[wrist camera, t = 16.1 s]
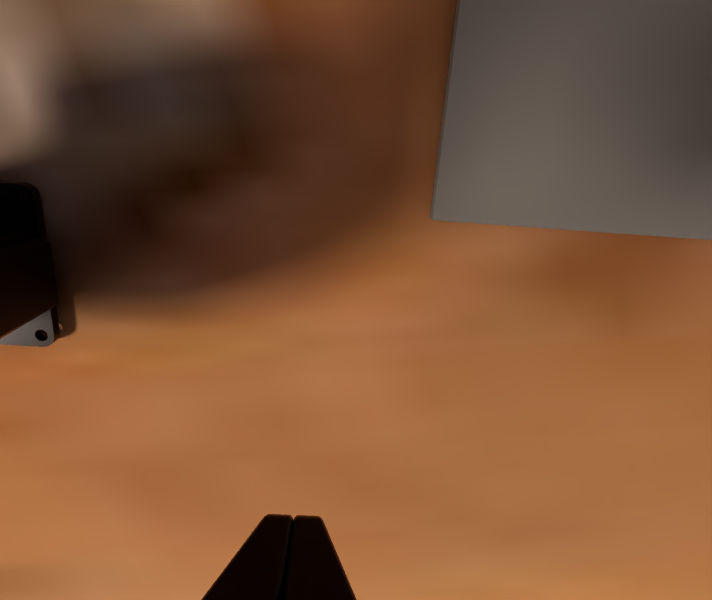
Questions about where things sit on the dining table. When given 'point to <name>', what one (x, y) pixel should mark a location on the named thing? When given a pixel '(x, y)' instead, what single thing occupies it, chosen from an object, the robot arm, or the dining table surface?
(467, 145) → the mat
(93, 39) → the dining table surface
